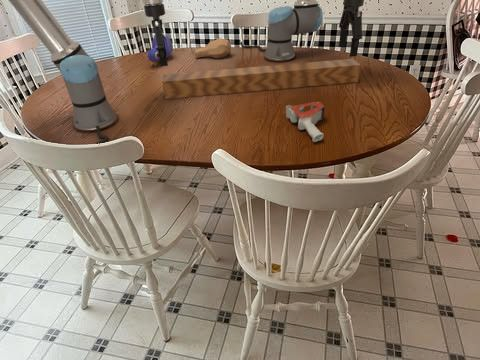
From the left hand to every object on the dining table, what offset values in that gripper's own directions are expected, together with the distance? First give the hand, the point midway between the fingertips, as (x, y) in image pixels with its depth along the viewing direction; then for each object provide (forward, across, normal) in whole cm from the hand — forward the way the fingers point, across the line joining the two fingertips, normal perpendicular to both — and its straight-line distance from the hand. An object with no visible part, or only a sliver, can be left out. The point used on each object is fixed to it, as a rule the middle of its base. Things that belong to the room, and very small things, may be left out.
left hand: (164, 60), depth 146 cm
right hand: (+2, -11, -75) cm, 76 cm away
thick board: (+14, -7, -39) cm, 42 cm away
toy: (+14, +44, +3) cm, 46 cm away
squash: (+14, +42, -25) cm, 51 cm away
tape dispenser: (+14, -47, -45) cm, 66 cm away
